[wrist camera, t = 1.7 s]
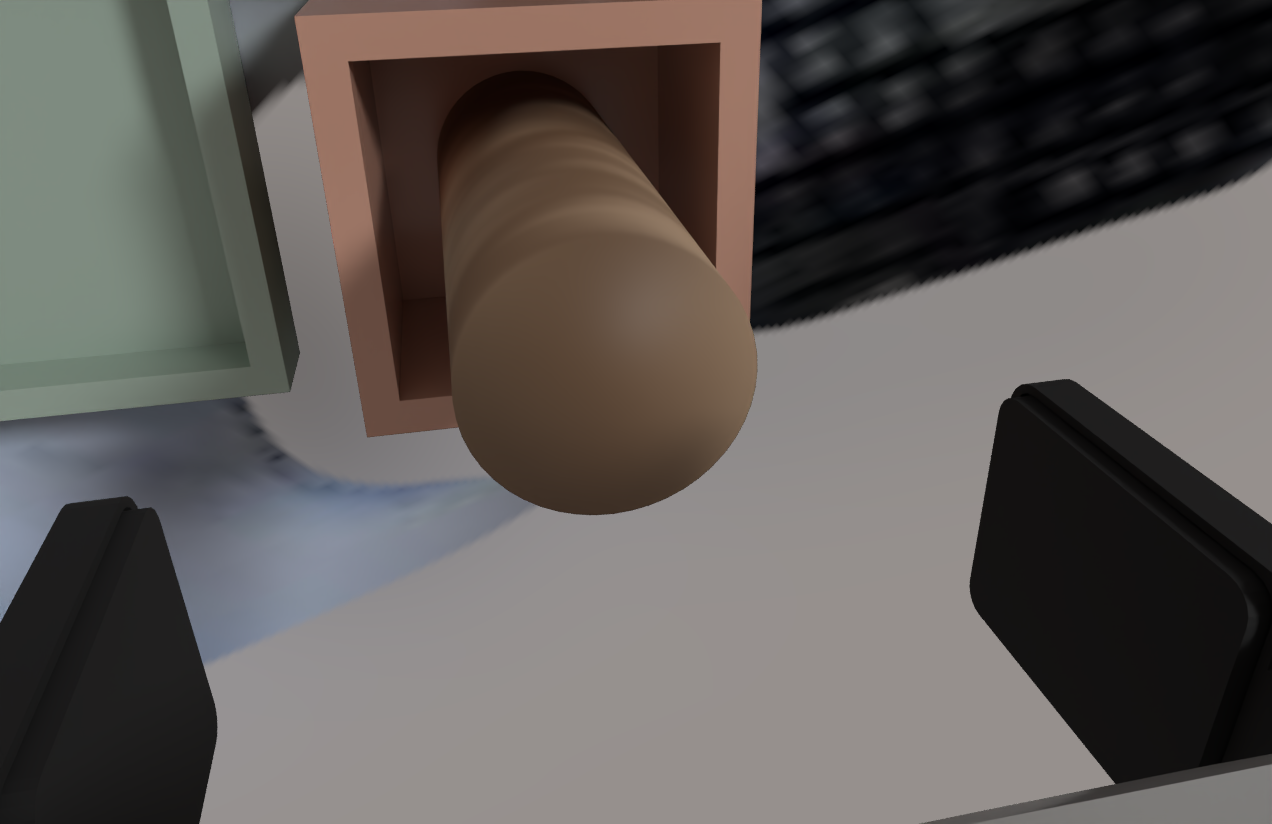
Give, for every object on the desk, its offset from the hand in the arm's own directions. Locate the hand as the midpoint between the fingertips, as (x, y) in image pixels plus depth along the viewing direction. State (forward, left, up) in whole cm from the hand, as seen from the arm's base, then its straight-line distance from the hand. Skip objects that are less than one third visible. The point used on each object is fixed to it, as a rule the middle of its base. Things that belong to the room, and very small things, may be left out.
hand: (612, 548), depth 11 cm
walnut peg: (-1, 0, -17) cm, 17 cm away
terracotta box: (-1, 0, -17) cm, 17 cm away
